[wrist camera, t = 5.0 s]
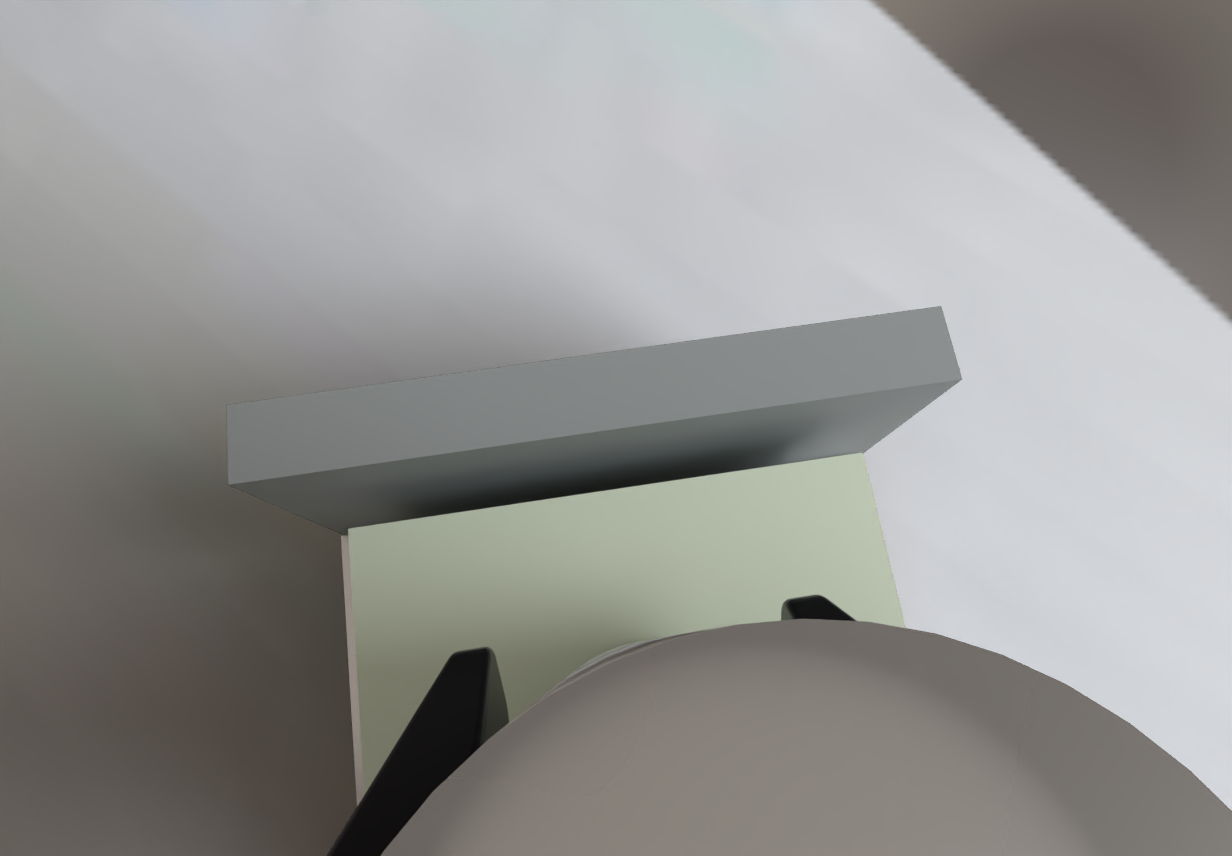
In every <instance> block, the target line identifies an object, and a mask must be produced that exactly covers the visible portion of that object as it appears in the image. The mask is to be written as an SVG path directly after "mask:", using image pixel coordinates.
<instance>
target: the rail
mask: <svg viewBox="0 0 1232 856" xmlns="http://www.w3.org/2000/svg"><path fill="white" fill-rule="evenodd" d="M960 380H962V377H961V374H960V370H959V367H958V363H957V360H956V356H955V353H954V349H953V346H952V342H951V339H950V335H949V332H948V328H947V325H946V321H945V318H944V314H943V311H942V307H941V306H938V307H931V308H924V309H916V310H909V311H902V312H895V313H887V314H880V315H873V316H866V317H859V318H851V319H844V320H837V321H830V322H822V323H815V324H808V325H801V326H793V327H786V328H779V329H772V330H764V331H757V332H750V333H743V334H735V335H728V336H721V337H714V338H707V339H699V340H692V341H685V342H678V343H670V344H663V345H656V346H649V347H641V348H634V349H627V350H620V351H612V352H605V353H598V354H591V355H583V356H576V357H569V358H562V359H554V360H547V361H540V362H533V363H526V364H518V365H511V366H504V367H497V368H489V369H482V370H475V371H468V372H460V373H453V374H446V375H439V376H431V377H424V378H417V379H410V380H402V381H395V382H388V383H381V384H374V385H366V386H359V387H352V388H345V389H337V390H330V391H323V392H316V393H308V394H301V395H294V396H287V397H279V398H272V399H265V400H258V401H250V402H243V403H236V404H229V405H226V409H227V456H228V485H230V486H232V487H234V488H237V489H239V490H241V491H244V492H246V493H248V494H251V495H253V496H255V497H257V498H260V499H262V500H264V501H267V502H269V503H271V504H274V505H276V506H278V507H280V508H283V509H285V510H287V511H290V512H292V513H294V514H297V515H299V516H301V517H303V518H306V519H308V520H310V521H313V522H315V523H317V524H320V525H322V526H324V527H327V528H329V529H331V530H333V531H336V532H338V533H340V534H343V535H344V536H341V547H342V563H343V580H344V597H345V614H346V631H347V647H348V664H349V681H350V698H351V714H352V731H353V748H354V765H355V782H356V798H357V806H358V804H359V803H360V801H361V800H362V798H363V796H364V780H363V764H362V748H361V732H360V716H359V700H358V684H357V668H356V651H355V635H354V619H353V603H352V587H351V571H350V555H349V539H348V529H349V528H356V527H363V526H370V525H376V524H383V523H390V522H397V521H403V520H410V519H417V518H424V517H430V516H437V515H444V514H451V513H457V512H464V511H471V510H478V509H484V508H491V507H498V506H505V505H511V504H518V503H525V502H532V501H538V500H545V499H552V498H559V497H565V496H572V495H579V494H586V493H592V492H599V491H606V490H613V489H619V488H626V487H633V486H640V485H646V484H653V483H660V482H667V481H673V480H680V479H687V478H694V477H700V476H707V475H714V474H721V473H727V472H734V471H741V470H748V469H754V468H761V467H768V466H775V465H781V464H788V463H795V462H802V461H808V460H815V459H822V458H829V457H835V456H842V455H849V454H856V453H862V452H863V453H864V452H865V451H867V450H868V449H869V448H871V447H872V446H873V445H875V444H876V443H877V442H879V441H880V440H882V439H883V438H884V437H886V436H887V435H888V434H890V433H891V432H892V431H894V430H895V429H896V428H898V427H899V426H900V425H902V424H903V423H904V422H906V421H907V420H908V419H910V418H911V417H912V416H914V415H915V414H916V413H918V412H919V411H920V410H922V409H923V408H924V407H926V406H927V405H928V404H930V403H931V402H932V401H934V400H935V399H936V398H938V397H939V396H940V395H942V394H943V393H944V392H946V391H947V390H948V389H950V388H951V387H952V386H954V385H955V384H956V383H958V382H959V381H960Z"/></svg>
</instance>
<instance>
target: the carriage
mask: <svg viewBox="0 0 1232 856" xmlns="http://www.w3.org/2000/svg"><path fill="white" fill-rule="evenodd" d="M348 539H349V555H350V571H351V587H352V603H353V619H354V635H355V651H356V668H357V684H358V700H359V716H360V732H361V748H362V764H363V780H364V795H365V793H366V791H367V790H368V788H369V787H370V785H371V783H372V782H373V780H374V778H375V777H376V775H377V774H378V772H379V770H380V769H381V767H382V765H383V764H384V762H385V761H386V759H387V757H388V756H389V754H390V753H391V751H392V749H393V748H394V746H395V744H396V743H397V741H398V740H399V738H400V736H401V735H402V733H403V731H404V730H405V728H406V727H407V725H408V723H409V722H410V720H411V718H412V717H413V715H414V714H415V712H416V710H417V709H418V707H419V705H420V704H421V702H422V701H423V699H424V697H425V696H426V694H427V692H428V691H429V689H430V688H431V686H432V684H433V683H434V681H435V679H436V678H437V676H438V675H439V673H440V671H441V670H442V668H443V667H444V665H445V663H446V662H447V660H448V658H449V657H450V656H451V655H452V654H453V653H454V652H456V651H461V650H467V649H473V648H480V647H489V648H491V649H492V650H493V651H494V653H495V656H496V660H497V665H498V669H499V673H500V677H501V681H502V685H503V690H504V694H505V698H506V703H507V708H508V717H509V723H508V724H507V725H506V726H504V727H503V728H502V729H501V730H499V731H498V732H497V733H496V734H494V735H493V736H492V737H491V738H489V739H488V740H487V741H486V742H485V743H484V744H483V745H482V746H481V747H480V748H479V749H478V750H477V751H475V752H474V753H473V754H472V755H471V756H470V757H469V758H468V759H467V760H466V761H465V762H464V763H463V764H462V765H461V766H460V767H458V768H457V769H456V770H455V771H454V772H453V773H452V774H451V775H450V776H449V777H448V778H447V779H446V780H445V781H444V782H443V783H441V784H440V785H439V786H438V787H437V788H436V789H435V790H434V791H433V792H432V794H431V795H430V796H429V797H428V798H427V800H426V801H425V802H424V803H423V804H422V806H421V807H420V808H419V809H418V810H417V812H416V813H415V814H414V815H413V816H412V818H411V819H410V820H409V821H408V822H407V824H406V825H405V826H404V827H403V828H402V830H401V831H400V832H399V833H398V834H397V836H396V837H395V838H394V839H393V841H392V842H391V843H390V844H389V845H388V847H387V848H386V849H385V850H384V851H383V853H382V854H381V856H1232V811H1231V810H1230V809H1229V808H1228V807H1227V806H1226V805H1225V804H1224V803H1223V802H1222V801H1221V800H1220V799H1219V798H1218V797H1217V796H1216V795H1215V794H1214V793H1213V792H1212V791H1211V790H1210V789H1208V788H1207V787H1206V786H1205V785H1204V784H1203V783H1202V782H1201V781H1200V780H1199V779H1198V778H1197V777H1196V776H1195V775H1194V774H1193V773H1192V772H1191V771H1190V770H1189V769H1187V768H1186V767H1185V766H1184V765H1182V764H1181V763H1180V762H1178V761H1177V760H1176V759H1175V758H1173V757H1172V756H1171V755H1170V754H1168V753H1167V752H1166V751H1164V750H1163V749H1162V748H1161V747H1159V746H1158V745H1157V744H1156V743H1154V742H1153V741H1152V740H1150V739H1149V738H1148V737H1147V736H1145V735H1144V734H1143V733H1141V732H1140V731H1139V730H1138V729H1136V728H1135V727H1134V726H1133V725H1131V724H1130V723H1128V722H1127V721H1125V720H1124V719H1122V718H1120V717H1119V716H1117V715H1115V714H1114V713H1112V712H1111V711H1109V710H1107V709H1106V708H1104V707H1102V706H1101V705H1099V704H1097V703H1096V702H1094V701H1093V700H1091V699H1089V698H1088V697H1086V696H1084V695H1083V694H1081V693H1080V692H1078V691H1076V690H1075V689H1073V688H1071V687H1070V686H1068V685H1067V684H1064V683H1062V682H1060V681H1058V680H1056V679H1054V678H1051V677H1049V676H1047V675H1045V674H1043V673H1040V672H1038V671H1036V670H1034V669H1032V668H1030V667H1027V666H1025V665H1023V664H1021V663H1019V662H1017V661H1014V660H1012V659H1010V658H1008V657H1006V656H1004V655H1001V654H998V653H995V652H992V651H989V650H985V649H982V648H979V647H976V646H973V645H970V644H967V643H963V642H960V641H957V640H954V639H951V638H948V637H945V636H941V635H938V634H935V633H929V632H924V631H918V630H912V629H907V628H906V626H905V622H904V618H903V614H902V610H901V606H900V602H899V598H898V594H897V590H896V585H895V581H894V577H893V573H892V569H891V565H890V561H889V557H888V553H887V549H886V545H885V541H884V536H883V532H882V528H881V524H880V520H879V516H878V512H877V508H876V504H875V500H874V496H873V492H872V488H871V483H870V479H869V475H868V471H867V467H866V463H865V459H864V455H863V452H862V453H856V454H849V455H842V456H835V457H829V458H822V459H815V460H808V461H802V462H795V463H788V464H781V465H775V466H768V467H761V468H754V469H748V470H741V471H734V472H727V473H721V474H714V475H707V476H700V477H694V478H687V479H680V480H673V481H667V482H660V483H653V484H646V485H640V486H633V487H626V488H619V489H613V490H606V491H599V492H592V493H586V494H579V495H572V496H565V497H559V498H552V499H545V500H538V501H532V502H525V503H518V504H511V505H505V506H498V507H491V508H484V509H478V510H471V511H464V512H457V513H451V514H444V515H437V516H430V517H424V518H417V519H410V520H403V521H397V522H390V523H383V524H376V525H370V526H363V527H356V528H349V529H348ZM809 595H821V596H824V597H826V598H827V599H829V600H830V601H831V602H833V603H834V604H835V605H837V606H838V607H839V608H841V609H842V610H843V611H845V612H846V613H847V614H849V615H850V616H851V617H853V618H854V619H855V620H857V621H843V620H821V619H793V620H782V621H781V608H782V605H783V602H785V601H786V600H787V599H790V598H796V597H803V596H809Z"/></svg>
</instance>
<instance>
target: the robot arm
mask: <svg viewBox="0 0 1232 856" xmlns="http://www.w3.org/2000/svg"><path fill="white" fill-rule="evenodd" d="M793 619H821V620H843V621H857V620H855V619H854V618H853V617H851V616H850V615H849V614H847V613H846V612H845V611H843V610H842V609H841V608H839V607H838V606H837V605H835V604H834V603H833V602H831V601H830V600H829V599H827V598H826V597H824V596H821V595H809V596H803V597H796V598H790V599H787V600H786V601H785V602H783V605H782V608H781V621H782V620H793ZM508 723H509V717H508V708H507V703H506V698H505V694H504V690H503V685H502V681H501V677H500V673H499V669H498V665H497V660H496V656H495V653H494V651H493V650H492V649H491V648H489V647H480V648H473V649H467V650H461V651H456V652H454V653H453V654H452V655H451V656H450V657H449V658H448V660H447V662H446V663H445V665H444V667H443V668H442V670H441V671H440V673H439V675H438V676H437V678H436V679H435V681H434V683H433V684H432V686H431V688H430V689H429V691H428V692H427V694H426V696H425V697H424V699H423V701H422V702H421V704H420V705H419V707H418V709H417V710H416V712H415V714H414V715H413V717H412V718H411V720H410V722H409V723H408V725H407V727H406V728H405V730H404V731H403V733H402V735H401V736H400V738H399V740H398V741H397V743H396V744H395V746H394V748H393V749H392V751H391V753H390V754H389V756H388V757H387V759H386V761H385V762H384V764H383V765H382V767H381V769H380V770H379V772H378V774H377V775H376V777H375V778H374V780H373V782H372V783H371V785H370V787H369V788H368V790H367V791H366V793H365V795H364V796H363V798H362V800H361V801H360V803H359V804H358V806H357V808H356V809H355V811H354V813H353V814H352V816H351V817H350V819H349V821H348V822H347V824H346V826H345V827H344V829H343V830H342V832H341V834H340V835H339V837H338V839H337V840H336V842H335V843H334V845H333V847H332V848H331V850H330V851H329V853H328V855H327V856H381V854H382V853H383V851H384V850H385V849H386V848H387V847H388V845H389V844H390V843H391V842H392V841H393V839H394V838H395V837H396V836H397V834H398V833H399V832H400V831H401V830H402V828H403V827H404V826H405V825H406V824H407V822H408V821H409V820H410V819H411V818H412V816H413V815H414V814H415V813H416V812H417V810H418V809H419V808H420V807H421V806H422V804H423V803H424V802H425V801H426V800H427V798H428V797H429V796H430V795H431V794H432V792H433V791H434V790H435V789H436V788H437V787H438V786H439V785H440V784H441V783H443V782H444V781H445V780H446V779H447V778H448V777H449V776H450V775H451V774H452V773H453V772H454V771H455V770H456V769H457V768H458V767H460V766H461V765H462V764H463V763H464V762H465V761H466V760H467V759H468V758H469V757H470V756H471V755H472V754H473V753H474V752H475V751H477V750H478V749H479V748H480V747H481V746H482V745H483V744H484V743H485V742H486V741H487V740H488V739H489V738H491V737H492V736H493V735H494V734H496V733H497V732H498V731H499V730H501V729H502V728H503V727H504V726H506V725H507V724H508Z"/></svg>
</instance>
